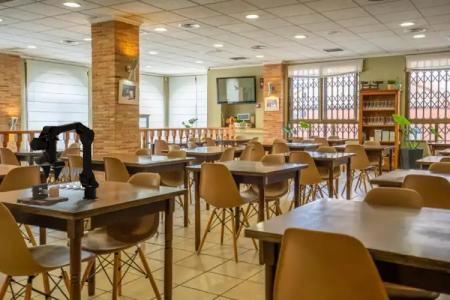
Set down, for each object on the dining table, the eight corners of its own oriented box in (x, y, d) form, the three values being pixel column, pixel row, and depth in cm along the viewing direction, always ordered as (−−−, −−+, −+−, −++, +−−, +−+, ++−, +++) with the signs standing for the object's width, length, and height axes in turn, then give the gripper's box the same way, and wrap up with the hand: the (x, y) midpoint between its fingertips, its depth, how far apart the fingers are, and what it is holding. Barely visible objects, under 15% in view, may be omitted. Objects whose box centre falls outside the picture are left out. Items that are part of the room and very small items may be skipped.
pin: (29, 195, 268) (29, 186, 268) (35, 194, 272) (35, 185, 271) (53, 197, 259) (53, 188, 259) (59, 196, 263) (58, 187, 263)
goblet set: (93, 187, 322) (93, 167, 321) (87, 188, 316) (87, 168, 315) (59, 185, 332) (59, 165, 331) (53, 186, 326) (53, 166, 326)
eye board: (16, 201, 263) (16, 185, 263) (43, 197, 279) (43, 181, 278) (42, 205, 254) (41, 188, 253) (68, 200, 269) (68, 184, 269)
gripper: (27, 149, 251) (28, 179, 252) (45, 151, 239) (46, 182, 240) (46, 148, 260) (47, 177, 261) (65, 150, 247) (66, 180, 248)
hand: (51, 179), depth 252 cm, fingers open, 9 cm apart
